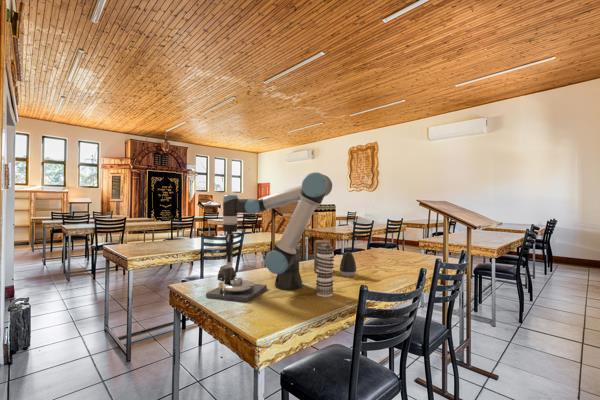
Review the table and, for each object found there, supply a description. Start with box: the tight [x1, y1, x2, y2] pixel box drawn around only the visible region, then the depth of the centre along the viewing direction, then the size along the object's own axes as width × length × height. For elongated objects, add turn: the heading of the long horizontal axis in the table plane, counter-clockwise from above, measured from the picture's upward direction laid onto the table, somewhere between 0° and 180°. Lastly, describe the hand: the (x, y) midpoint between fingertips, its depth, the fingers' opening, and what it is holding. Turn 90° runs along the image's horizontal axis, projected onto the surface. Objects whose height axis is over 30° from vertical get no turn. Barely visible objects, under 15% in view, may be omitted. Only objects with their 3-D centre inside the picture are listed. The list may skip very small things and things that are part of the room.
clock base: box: [205, 281, 268, 303], centre depth 149 cm, size 22×22×7 cm
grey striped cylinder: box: [313, 239, 331, 273], centre depth 197 cm, size 10×10×20 cm
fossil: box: [217, 264, 237, 281], centre depth 176 cm, size 11×9×10 cm
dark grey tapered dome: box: [339, 251, 357, 278], centre depth 185 cm, size 10×10×15 cm
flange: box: [222, 267, 255, 292], centre depth 149 cm, size 18×16×9 cm
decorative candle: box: [315, 243, 335, 298], centre depth 148 cm, size 9×9×25 cm
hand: (229, 267), depth 158 cm, fingers closed
